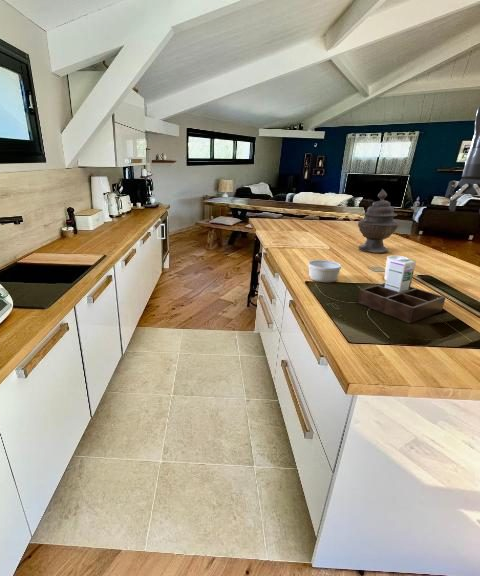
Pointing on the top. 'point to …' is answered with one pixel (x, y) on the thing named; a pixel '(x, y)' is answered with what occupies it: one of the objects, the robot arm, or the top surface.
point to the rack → (401, 302)
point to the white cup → (389, 262)
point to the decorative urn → (377, 225)
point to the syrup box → (400, 274)
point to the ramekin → (324, 270)
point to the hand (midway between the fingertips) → (466, 212)
